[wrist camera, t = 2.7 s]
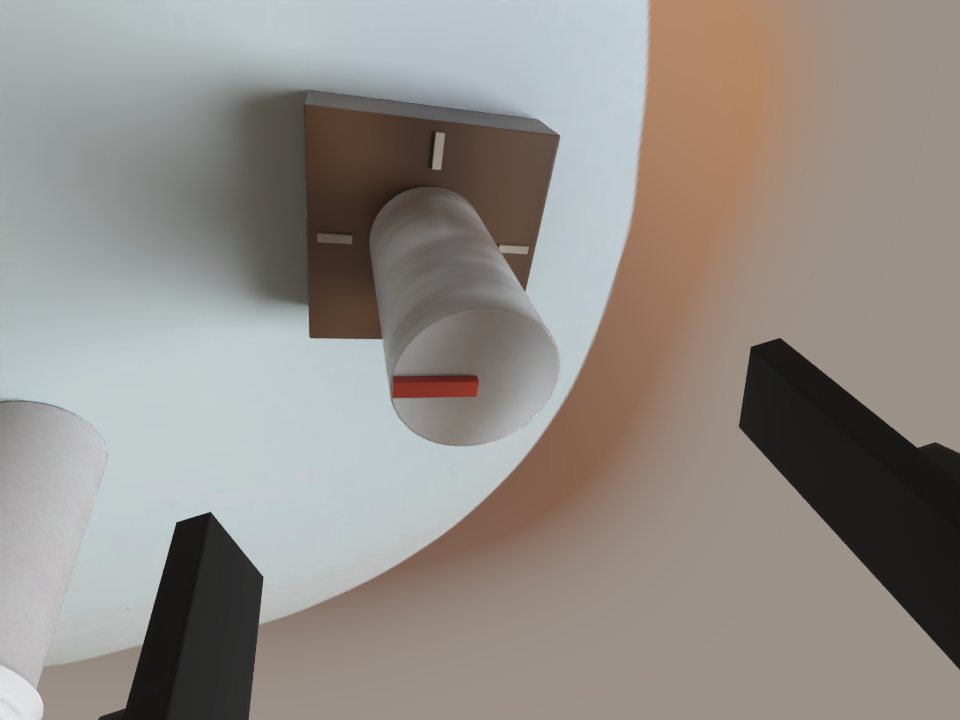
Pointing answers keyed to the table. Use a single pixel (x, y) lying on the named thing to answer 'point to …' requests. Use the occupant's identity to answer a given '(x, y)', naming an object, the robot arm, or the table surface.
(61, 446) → the coffee cup
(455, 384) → the tap knob
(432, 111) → the panel
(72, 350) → the table surface
